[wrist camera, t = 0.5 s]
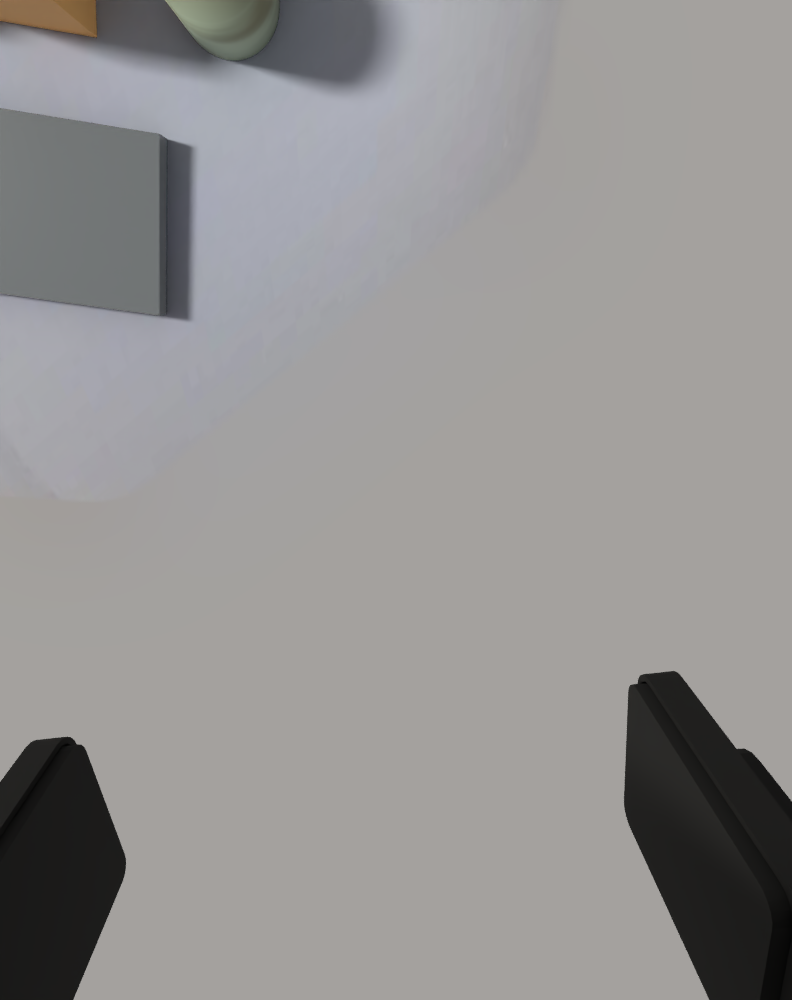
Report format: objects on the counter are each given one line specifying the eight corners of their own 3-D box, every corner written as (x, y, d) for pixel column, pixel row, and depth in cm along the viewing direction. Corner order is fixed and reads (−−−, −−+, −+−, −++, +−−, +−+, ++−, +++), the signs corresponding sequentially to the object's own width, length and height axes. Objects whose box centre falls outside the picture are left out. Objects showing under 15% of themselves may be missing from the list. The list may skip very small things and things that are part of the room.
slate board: (-153, 87, 30) (-173, 80, 29) (166, 138, 32) (159, 133, 31) (-124, 274, 34) (-141, 274, 32) (166, 314, 35) (159, 315, 34)
